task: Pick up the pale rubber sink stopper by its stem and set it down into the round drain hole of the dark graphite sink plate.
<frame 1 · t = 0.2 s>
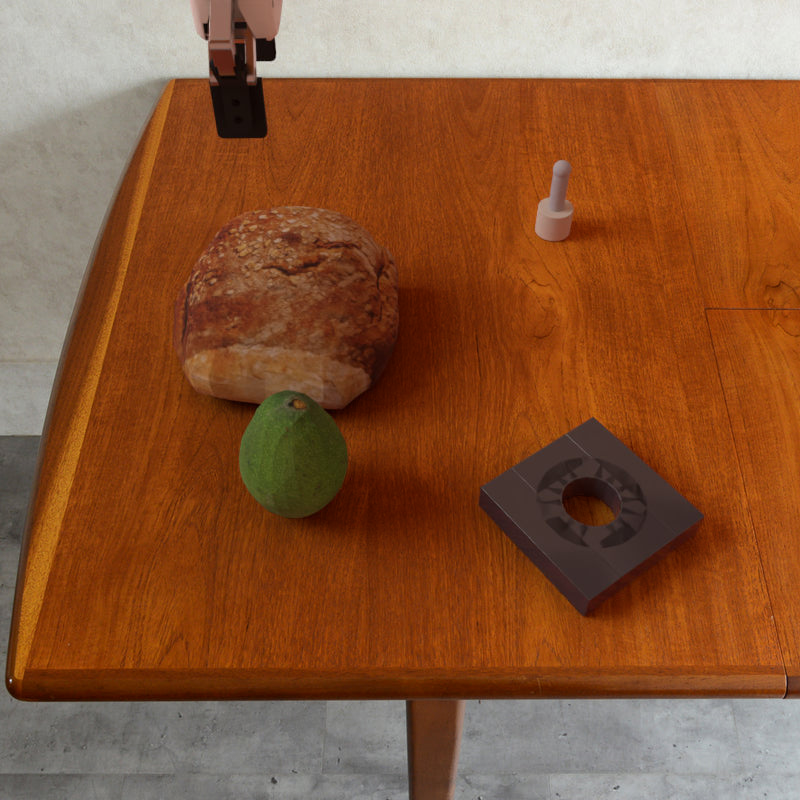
hand: (249, 95, 61), 26 cm above the table, tool pointing down, fingers open, 9 cm apart
sink plate: (586, 519, 70), on the table
bread: (287, 346, 82), on the table
fruit: (299, 498, 71), on the table
stopper: (552, 230, 93), on the table
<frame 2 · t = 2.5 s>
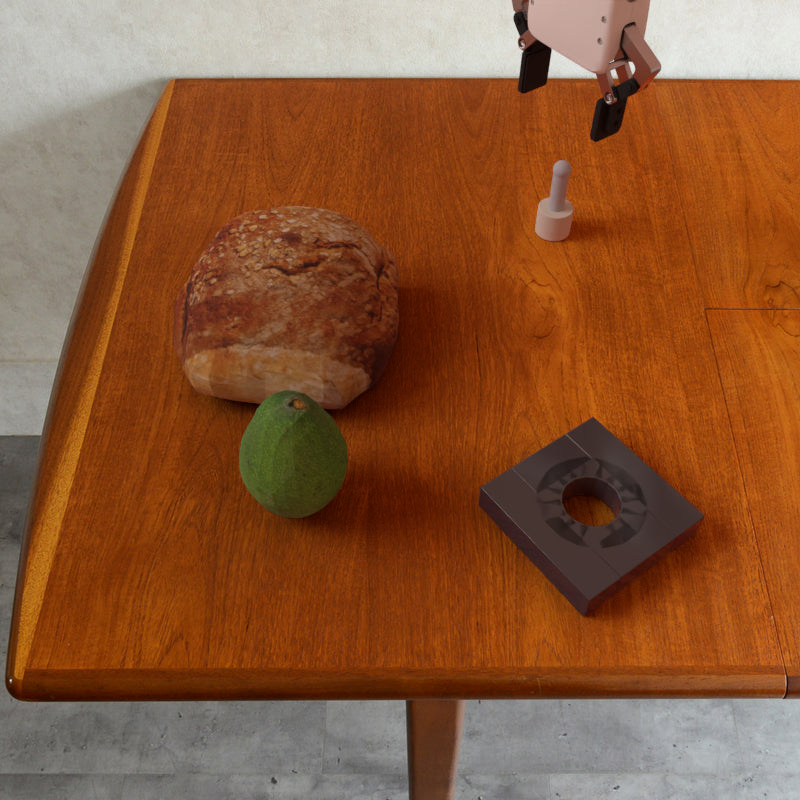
hand: (567, 111, 83), 14 cm above the table, tool pointing down, fingers open, 9 cm apart
nothing on the table moved.
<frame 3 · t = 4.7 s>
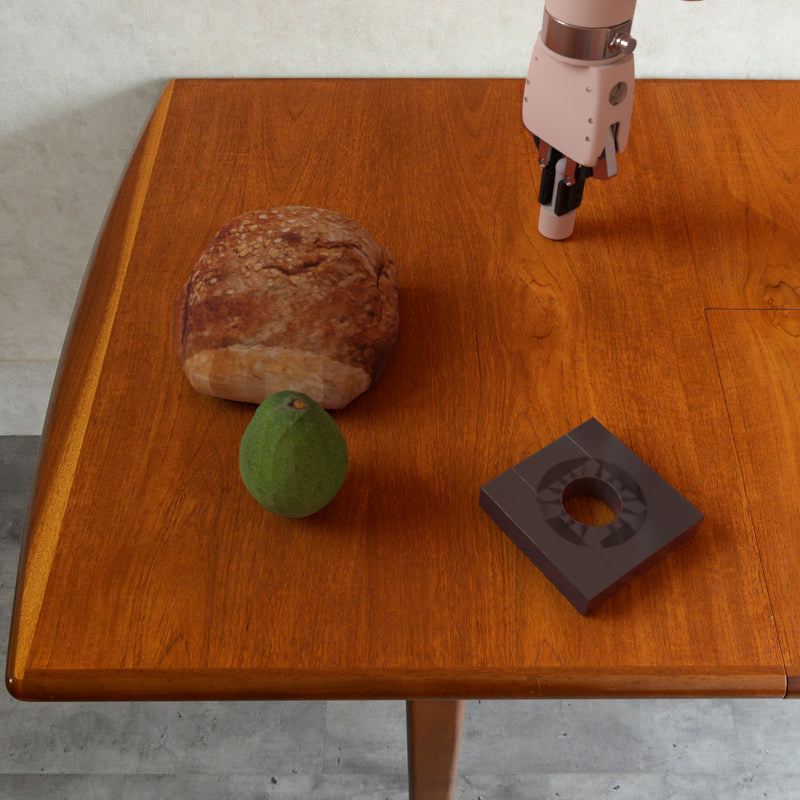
hand: (559, 203, 90), 3 cm above the table, tool pointing down, fingers closed on stopper
stopper: (555, 228, 93), on the table, touching gripper
everything else where it was.
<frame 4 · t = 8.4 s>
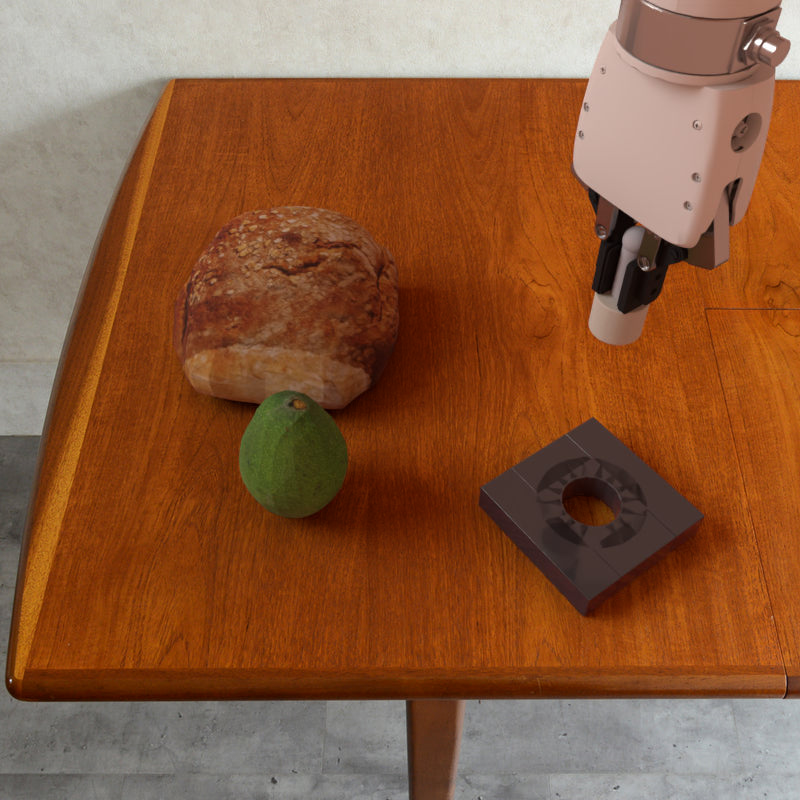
hand: (624, 292, 59), 19 cm above the table, tool pointing down, fingers closed on stopper
stopper: (614, 327, 61), point 16 cm above the table, touching gripper
everything else where it was.
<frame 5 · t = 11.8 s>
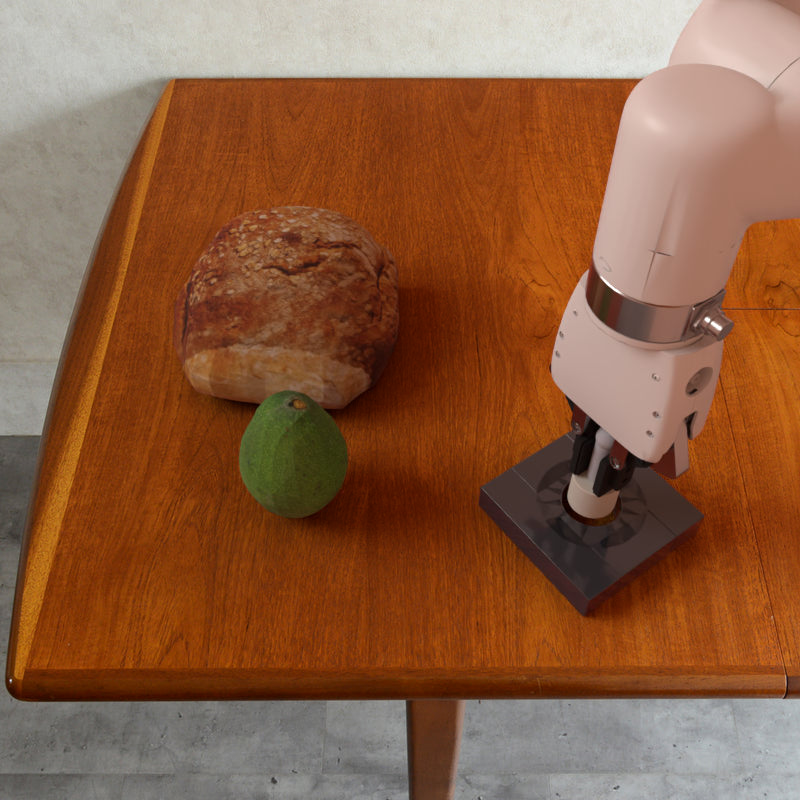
hand: (598, 473, 65), 6 cm above the table, tool pointing down, fingers closed on stopper
stopper: (591, 498, 68), point 3 cm above the table, touching gripper
everything else where it was.
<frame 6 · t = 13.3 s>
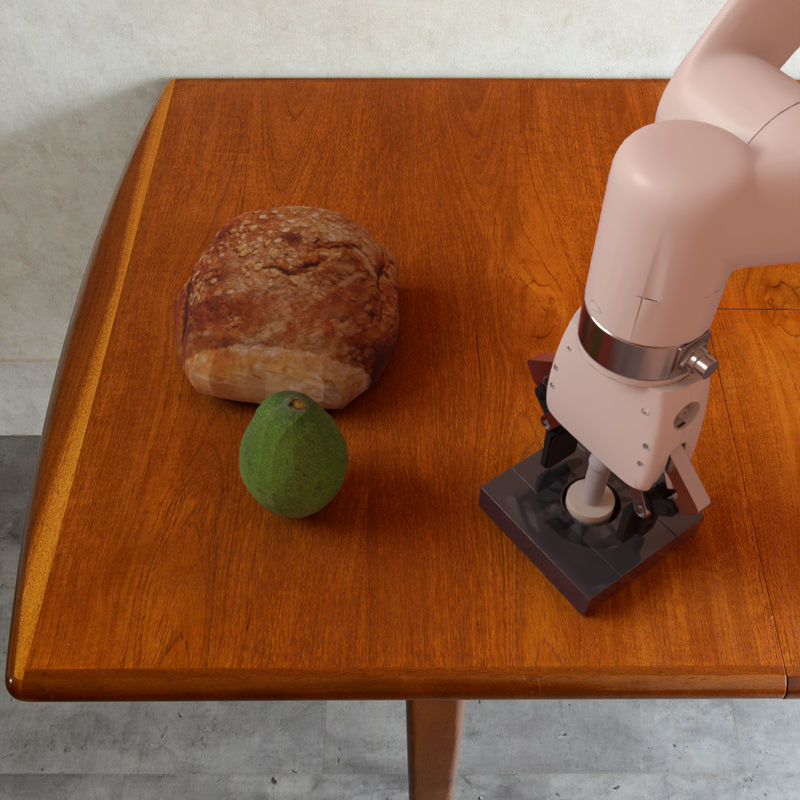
hand: (594, 492, 67), 4 cm above the table, tool pointing down, fingers open, 7 cm apart
stopper: (584, 519, 70), resting in sink plate
everything else where it was.
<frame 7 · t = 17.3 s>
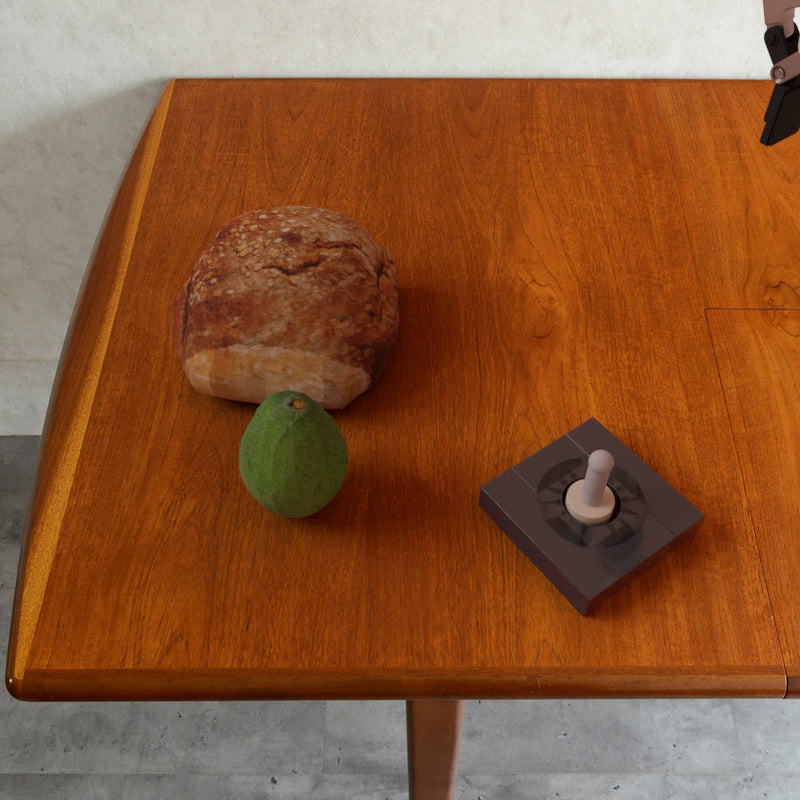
nothing on the table moved.
at the end: stopper 0.1 cm off-centre in the sink plate, point 0.0 cm above the sink plate's base; stopper tilted 0° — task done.
